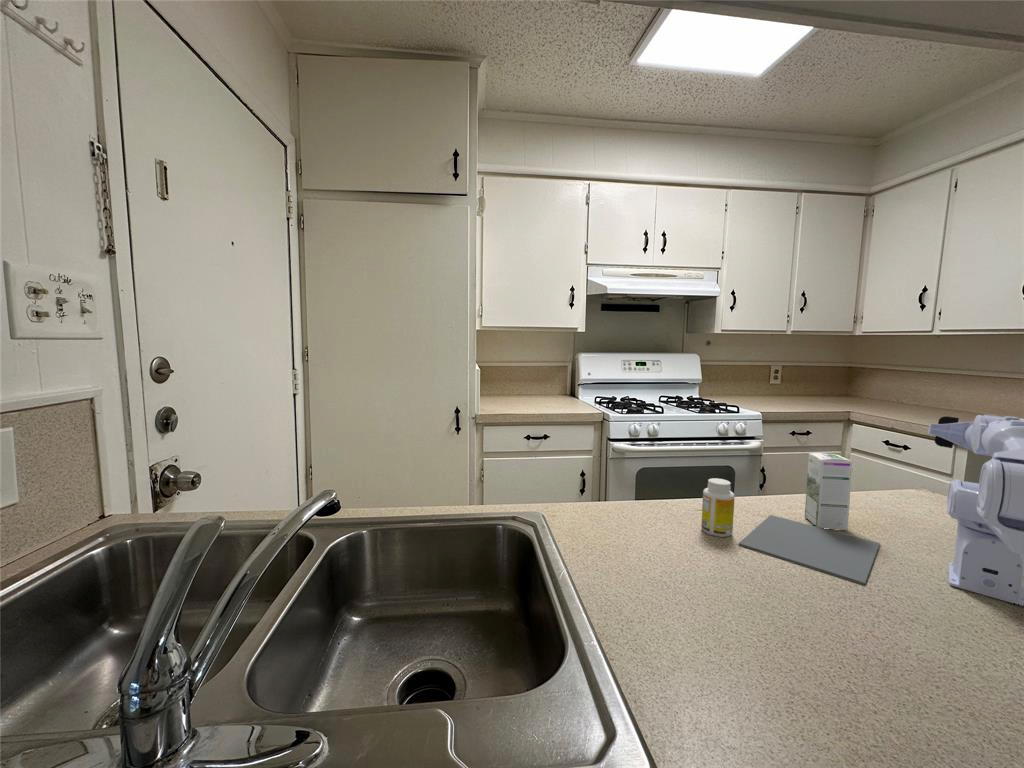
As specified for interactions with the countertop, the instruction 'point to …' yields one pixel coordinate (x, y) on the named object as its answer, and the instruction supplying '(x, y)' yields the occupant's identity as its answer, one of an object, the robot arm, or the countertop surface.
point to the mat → (814, 548)
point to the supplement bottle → (718, 508)
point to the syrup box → (828, 490)
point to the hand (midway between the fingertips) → (978, 438)
